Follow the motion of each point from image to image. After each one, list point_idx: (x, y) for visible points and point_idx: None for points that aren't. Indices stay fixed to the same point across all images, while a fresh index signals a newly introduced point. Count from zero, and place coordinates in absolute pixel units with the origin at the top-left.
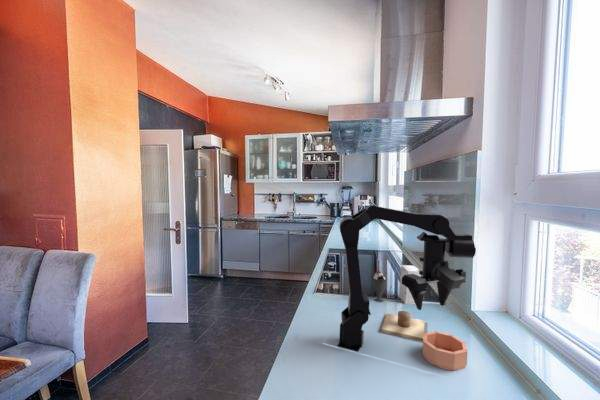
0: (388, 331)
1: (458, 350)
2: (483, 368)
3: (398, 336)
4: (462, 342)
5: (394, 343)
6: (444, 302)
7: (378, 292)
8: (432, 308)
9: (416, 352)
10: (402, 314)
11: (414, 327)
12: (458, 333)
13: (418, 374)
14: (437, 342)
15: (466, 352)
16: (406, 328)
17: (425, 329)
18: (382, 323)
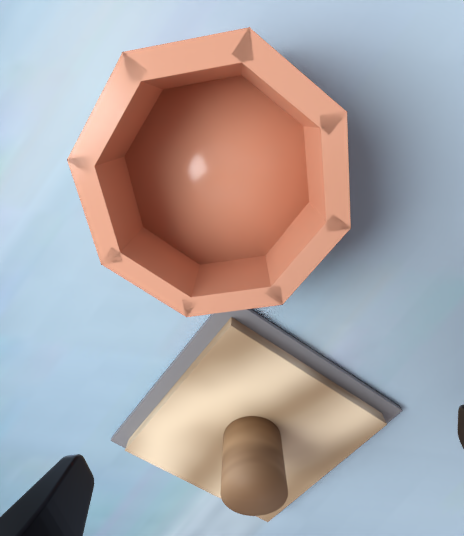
0: (360, 404)
1: (121, 179)
2: (52, 59)
3: (327, 369)
4: (86, 168)
5: (377, 329)
6: (42, 491)
7: None
8: None
9: None
10: (271, 486)
11: (213, 411)
12: (4, 352)
13: (450, 73)
14: (193, 269)
15: (133, 52)
16: (260, 409)
17: (154, 398)
18: None
